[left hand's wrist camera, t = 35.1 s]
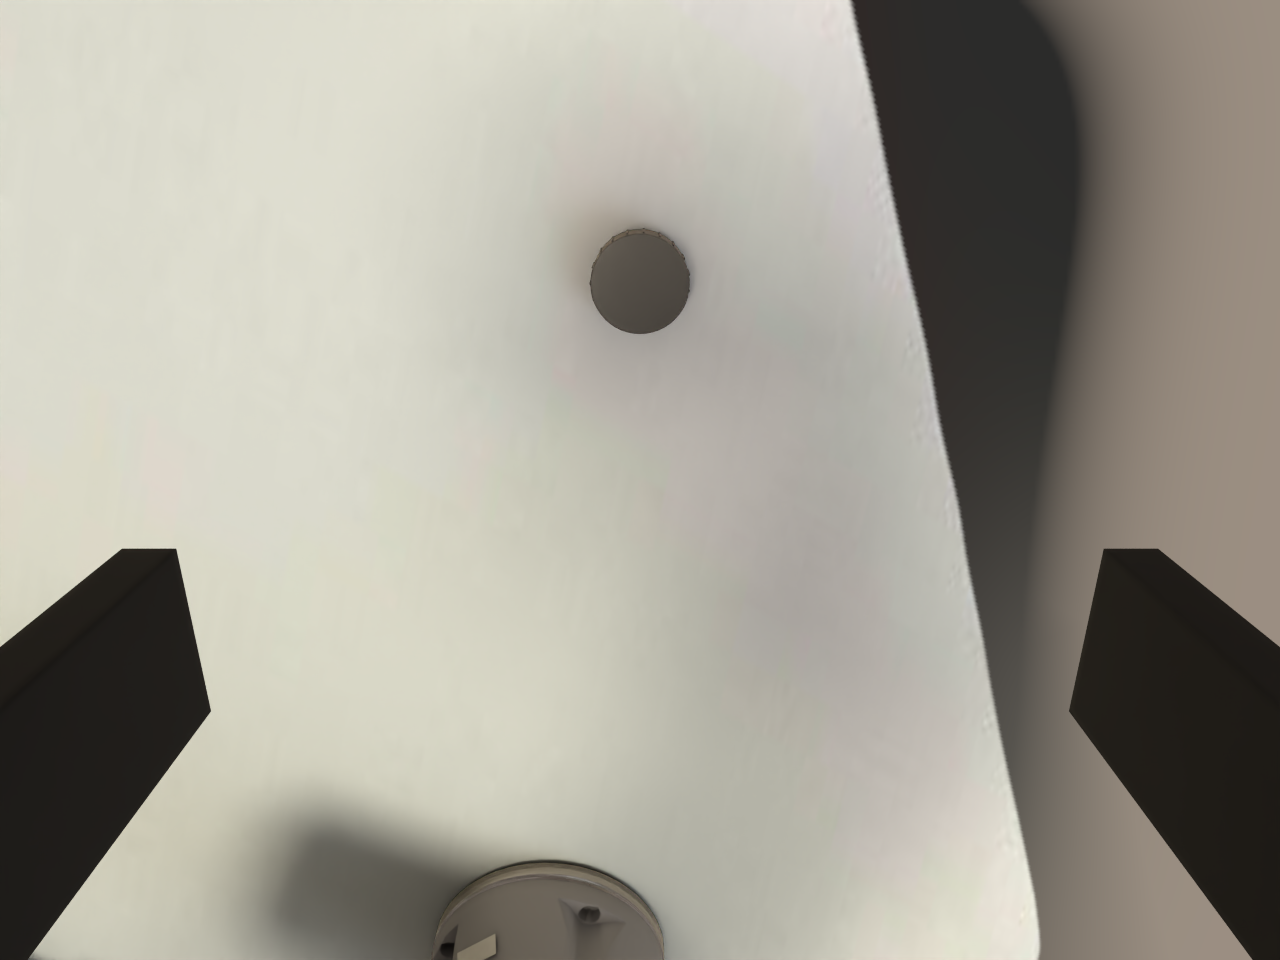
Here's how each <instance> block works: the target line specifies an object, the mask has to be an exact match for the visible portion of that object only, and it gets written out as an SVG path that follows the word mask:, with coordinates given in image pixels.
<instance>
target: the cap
mask: <svg viewBox="0 0 1280 960" xmlns="http://www.w3.org/2000/svg"><path fill="white" fill-rule="evenodd" d="M684 260H685V258H684V255H683V254H681V252H680V251H679V249H678V248H677V247H676V246H675V244H674V242H673V241H672V242H671V241H670V240H669V239H668V238H666V237H665V236H663V235H661V234H660V232H659V233H657V232H654V231H650V230H645V228H643V229H637V230H630V231H628V230H627V231H626V232H623V233H621V234H619V235H617V236H615V237H612V239H611V240H610V241H609V242H607V243H606V244H605V246H604V247H603V248H601V249H600V252H599V254H598V256H597V258H596V261H595V262H594V263H593V266H592V268H593V270H592V274H591V281H590V285H591V293H592V298H593V301H594V303H595V305H596V307H597V309H598V311H599V312H600V314H601V315H602V316H603V317H604V319H605V320H606V321H608V322H609V323H610V324H611V325H613V326H614V327H616V328H618V329H620V330H622V331H625V332H629V333H634V334H646V333H651V332H655V331H658V330H660V329H662V328H664V327H666V326H667V325H669V324H670V323H671V322H672V321H674V320H675V319H676V318H677V316H678V315H679V314H680V312H681V311H682V309H683V308H684V306H685V304H686V301H687V298H688V294H689V292H690V290H689V276H690V273H689V271H688V269H687V267H686V264H685V261H684Z"/></svg>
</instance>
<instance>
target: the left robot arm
mask: <svg viewBox="0 0 1280 960" xmlns="http://www.w3.org/2000/svg"><path fill="white" fill-rule="evenodd" d="M210 712H211V709H210V704H209V700H208V695H207V690H206V686H205V681H204V676H203V672H202V667H201V662H200V658H199V653H198V648H197V644H196V639H195V634H194V630H193V625H192V620H191V616H190V611H189V606H188V602H187V597H186V592H185V588H184V583H183V578H182V574H181V569H180V564H179V560H178V555H177V550H176V549H121V550H120V551H119V552H117V553H116V554H115V555H114V556H112V557H111V558H110V559H109V560H107V561H106V562H105V563H104V564H103V565H101V566H100V567H99V568H98V569H96V570H95V571H94V572H93V573H91V574H90V575H89V576H88V577H86V578H85V579H84V580H83V581H81V582H80V583H79V584H78V585H77V586H75V587H74V588H73V589H72V590H70V591H69V592H68V593H67V594H65V595H64V596H63V597H62V598H60V599H59V600H58V601H57V602H55V603H54V604H53V605H52V606H51V607H49V608H48V609H47V610H46V611H44V612H43V613H42V614H41V615H39V616H38V617H37V618H36V619H34V620H33V621H32V622H31V623H29V624H28V625H27V626H26V627H25V628H23V629H22V630H21V631H20V632H18V633H17V634H16V635H15V636H13V637H12V638H11V639H10V640H8V641H7V642H6V643H5V644H3V645H2V646H1V647H0V960H28V958H29V957H30V956H31V954H32V953H33V951H34V950H35V949H36V947H37V946H38V945H39V943H40V942H41V941H42V939H43V938H44V937H45V935H46V934H47V932H48V931H49V930H50V928H51V927H52V926H53V924H54V923H55V922H56V920H57V919H58V918H59V916H60V915H61V914H62V912H63V911H64V909H65V908H66V907H67V905H68V904H69V903H70V901H71V900H72V899H73V897H74V896H75V895H76V893H77V892H78V891H79V889H80V888H81V886H82V885H83V884H84V882H85V881H86V880H87V878H88V877H89V876H90V874H91V873H92V872H93V870H94V869H95V868H96V866H97V865H98V863H99V862H100V861H101V859H102V858H103V857H104V855H105V854H106V853H107V851H108V850H109V849H110V847H111V846H112V844H113V843H114V842H115V840H116V839H117V838H118V836H119V835H120V834H121V832H122V831H123V830H124V828H125V827H126V826H127V824H128V823H129V821H130V820H131V819H132V817H133V816H134V815H135V813H136V812H137V811H138V809H139V808H140V807H141V805H142V804H143V803H144V801H145V800H146V798H147V797H148V796H149V794H150V793H151V792H152V790H153V789H154V788H155V786H156V785H157V784H158V782H159V781H160V780H161V778H162V777H163V775H164V774H165V773H166V771H167V770H168V769H169V767H170V766H171V765H172V763H173V762H174V761H175V759H176V758H177V757H178V755H179V754H180V752H181V751H182V750H183V748H184V747H185V746H186V744H187V743H188V742H189V740H190V739H191V738H192V736H193V735H194V733H195V732H196V731H197V729H198V728H199V727H200V725H201V724H202V723H203V721H204V720H205V719H206V717H207V716H208V715H209V713H210ZM1069 712H1070V713H1071V714H1072V716H1073V717H1074V719H1075V720H1076V721H1077V723H1078V724H1079V725H1080V727H1081V728H1082V729H1083V731H1084V732H1085V733H1086V735H1087V736H1088V738H1089V739H1090V740H1091V742H1092V743H1093V744H1094V746H1095V747H1096V748H1097V750H1098V751H1099V752H1100V754H1101V755H1102V756H1103V758H1104V759H1105V761H1106V762H1107V763H1108V765H1109V766H1110V767H1111V769H1112V770H1113V771H1114V773H1115V774H1116V775H1117V777H1118V778H1119V780H1120V781H1121V782H1122V783H1123V785H1124V786H1125V788H1126V789H1127V790H1128V792H1129V793H1130V794H1131V796H1132V797H1133V798H1134V800H1135V801H1136V802H1137V804H1138V805H1139V806H1140V808H1141V809H1142V811H1143V812H1144V813H1145V815H1146V816H1147V817H1148V819H1149V820H1150V821H1151V823H1152V824H1153V826H1154V827H1155V828H1156V830H1157V831H1158V832H1159V834H1160V835H1161V836H1162V838H1163V839H1164V840H1165V842H1166V843H1167V844H1168V846H1169V847H1170V849H1171V850H1172V851H1173V852H1174V854H1175V855H1176V857H1177V858H1178V859H1179V861H1180V862H1181V863H1182V865H1183V866H1184V868H1185V869H1186V870H1187V872H1188V873H1189V874H1190V876H1191V877H1192V878H1193V880H1194V881H1195V882H1196V884H1197V885H1198V886H1199V888H1200V889H1201V890H1202V892H1203V893H1204V895H1205V896H1206V897H1207V899H1208V900H1209V901H1210V903H1211V904H1212V905H1213V907H1214V908H1215V909H1216V911H1217V912H1218V914H1219V915H1220V916H1221V918H1222V919H1223V920H1224V922H1225V923H1226V924H1227V926H1228V927H1229V928H1230V930H1231V931H1232V932H1233V934H1234V935H1235V937H1236V938H1237V939H1238V941H1239V942H1240V943H1241V945H1242V946H1243V947H1244V949H1245V950H1246V951H1247V953H1248V954H1249V956H1250V957H1251V958H1252V960H1280V647H1279V646H1278V645H1277V644H1275V643H1274V642H1273V641H1271V640H1270V639H1269V638H1268V637H1266V636H1265V635H1264V634H1263V633H1262V632H1260V631H1259V630H1258V629H1257V628H1255V627H1254V626H1253V625H1252V624H1250V623H1249V622H1248V621H1247V620H1246V619H1244V618H1243V617H1242V616H1241V615H1239V614H1238V613H1237V612H1236V611H1234V610H1233V609H1232V608H1231V607H1229V606H1228V605H1227V604H1226V603H1224V602H1223V601H1222V600H1221V599H1220V598H1218V597H1217V596H1216V595H1215V594H1213V593H1212V592H1211V591H1210V590H1208V589H1207V588H1206V587H1205V586H1203V585H1202V584H1201V583H1200V582H1199V581H1197V580H1196V579H1195V578H1194V577H1192V576H1191V575H1190V574H1189V573H1187V572H1186V571H1185V570H1184V569H1182V568H1181V567H1180V566H1179V565H1177V564H1176V563H1175V562H1174V561H1173V560H1171V559H1170V558H1169V557H1168V556H1166V555H1165V554H1164V553H1163V552H1161V551H1160V550H1159V549H1104V550H1103V555H1102V560H1101V564H1100V569H1099V574H1098V579H1097V583H1096V588H1095V592H1094V597H1093V602H1092V606H1091V611H1090V616H1089V621H1088V625H1087V630H1086V635H1085V639H1084V644H1083V649H1082V653H1081V658H1080V663H1079V667H1078V672H1077V676H1076V681H1075V686H1074V690H1073V695H1072V700H1071V705H1070V709H1069ZM432 960H664V945H663V938H662V933H661V930H660V927H659V925H658V922H657V920H656V918H655V916H654V915H653V913H652V912H651V910H650V909H649V907H648V906H647V905H646V904H645V903H644V902H643V900H642V899H641V898H640V897H638V896H637V895H636V894H635V893H634V892H633V891H631V890H630V889H629V888H628V887H626V886H625V885H623V884H621V883H620V882H618V881H616V880H615V879H613V878H611V877H609V876H606V875H604V874H602V873H599V872H597V871H593V870H590V869H587V868H583V867H579V866H574V865H568V864H560V863H530V864H523V865H517V866H512V867H508V868H504V869H501V870H498V871H495V872H493V873H490V874H488V875H486V876H484V877H482V878H480V879H478V880H476V881H475V882H473V883H472V884H470V885H469V886H467V887H466V888H465V889H463V890H462V891H461V892H460V893H459V894H458V895H457V896H456V897H455V898H454V899H453V900H452V901H451V903H450V904H449V905H448V907H447V908H446V910H445V911H444V913H443V915H442V917H441V920H440V922H439V925H438V929H437V932H436V936H435V940H434V944H433V950H432Z"/></svg>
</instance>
